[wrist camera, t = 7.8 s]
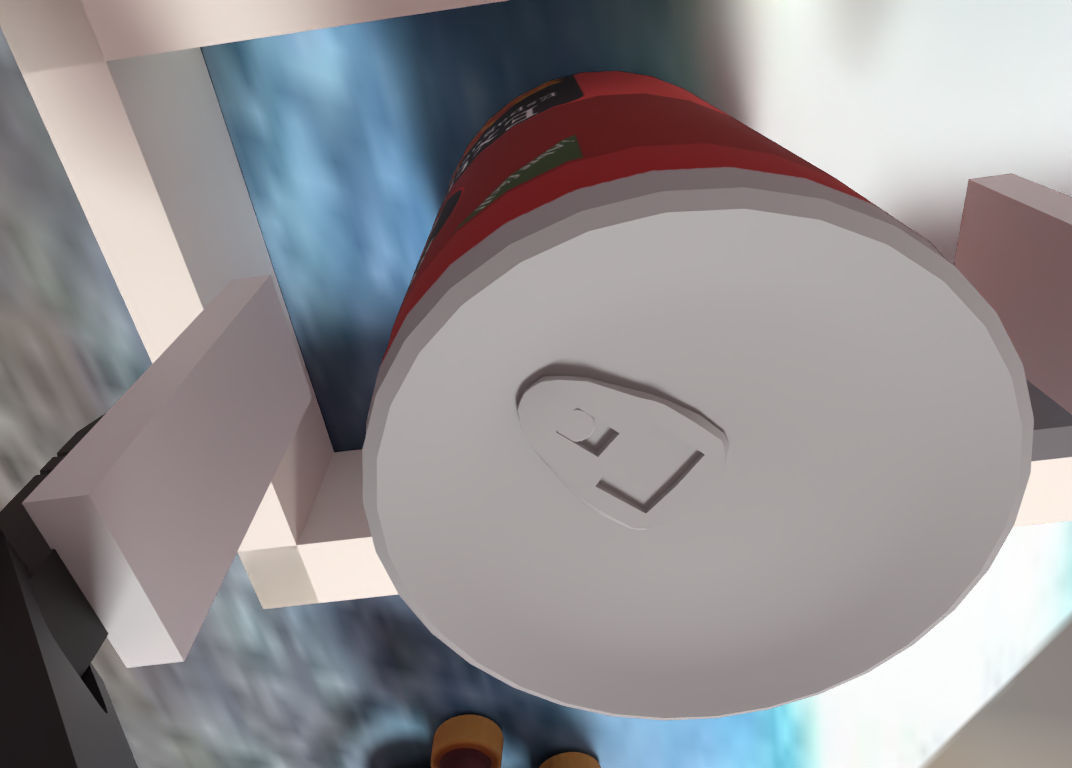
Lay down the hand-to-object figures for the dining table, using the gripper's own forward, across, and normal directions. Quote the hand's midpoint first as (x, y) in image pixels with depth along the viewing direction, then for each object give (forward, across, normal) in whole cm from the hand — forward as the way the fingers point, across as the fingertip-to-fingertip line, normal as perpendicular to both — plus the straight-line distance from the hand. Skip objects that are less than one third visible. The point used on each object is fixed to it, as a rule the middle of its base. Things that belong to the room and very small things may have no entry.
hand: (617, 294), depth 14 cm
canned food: (+5, 0, 0) cm, 5 cm away
